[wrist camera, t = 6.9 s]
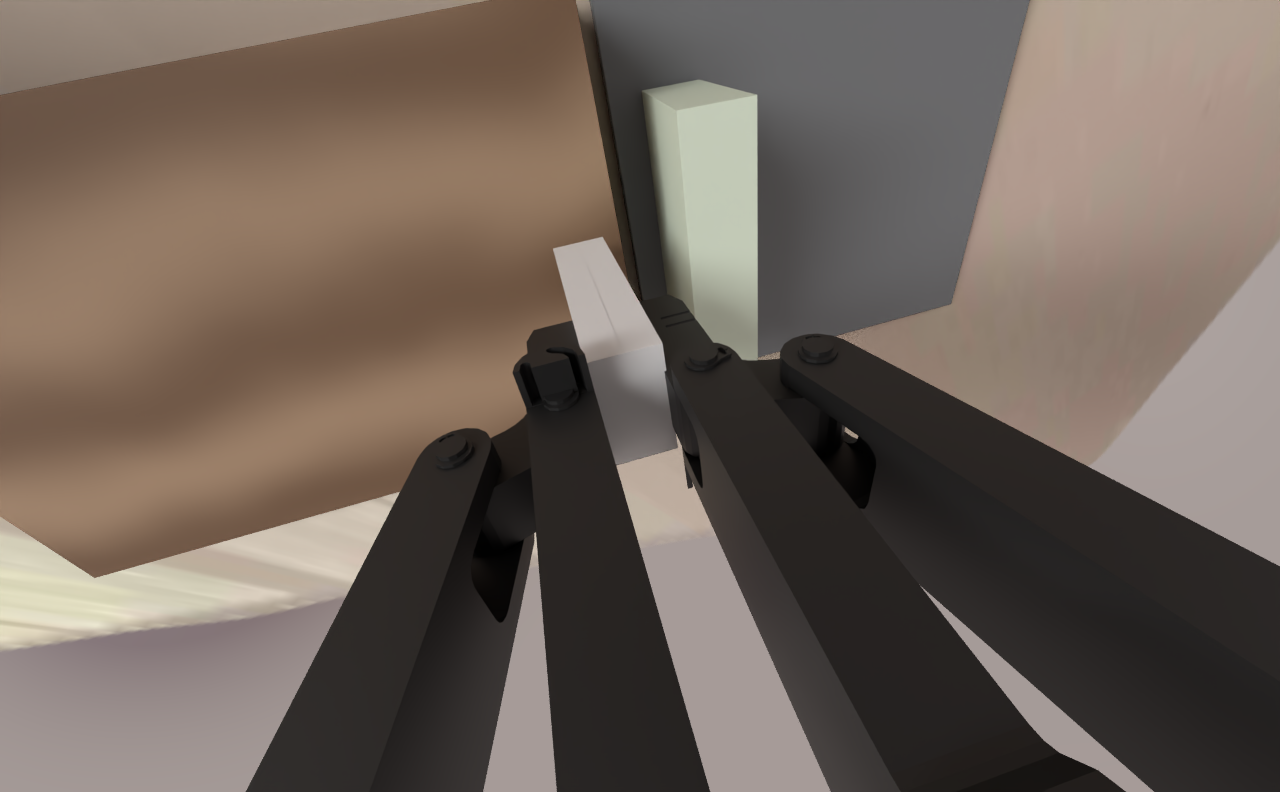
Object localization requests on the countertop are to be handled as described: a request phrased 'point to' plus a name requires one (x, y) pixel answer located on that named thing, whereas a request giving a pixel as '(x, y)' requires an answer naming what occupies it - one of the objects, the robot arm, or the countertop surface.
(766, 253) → the mat
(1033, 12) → the countertop surface
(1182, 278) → the countertop surface
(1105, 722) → the robot arm
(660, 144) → the pale green block
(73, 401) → the board
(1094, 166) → the countertop surface
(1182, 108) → the countertop surface
